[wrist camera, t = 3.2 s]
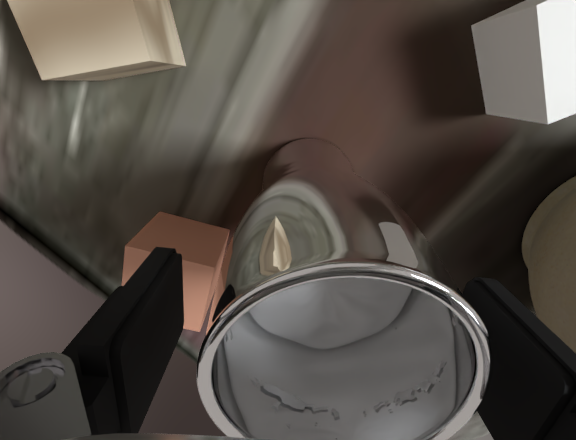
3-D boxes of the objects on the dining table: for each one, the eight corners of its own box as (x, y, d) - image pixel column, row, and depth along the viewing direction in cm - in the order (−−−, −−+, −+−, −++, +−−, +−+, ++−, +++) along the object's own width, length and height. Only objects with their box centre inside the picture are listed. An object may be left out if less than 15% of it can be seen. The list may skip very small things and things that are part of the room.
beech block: (67, -23, 16) (-21, -65, 12) (158, -42, 16) (104, -92, 11) (104, 80, 18) (42, 80, 14) (186, 66, 18) (150, 60, 13)
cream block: (470, 25, 17) (536, 5, 12) (568, -20, 16) (678, -61, 11) (485, 113, 19) (548, 124, 14) (573, 77, 18) (670, 75, 13)
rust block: (159, 210, 22) (125, 245, 17) (230, 229, 22) (214, 267, 18) (152, 269, 24) (119, 314, 19) (216, 284, 24) (199, 331, 20)
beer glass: (275, 242, 22) (251, 495, 9) (240, 149, 20) (125, 307, 6) (370, 215, 21) (510, 452, 8) (347, 115, 19) (501, 207, 5)
